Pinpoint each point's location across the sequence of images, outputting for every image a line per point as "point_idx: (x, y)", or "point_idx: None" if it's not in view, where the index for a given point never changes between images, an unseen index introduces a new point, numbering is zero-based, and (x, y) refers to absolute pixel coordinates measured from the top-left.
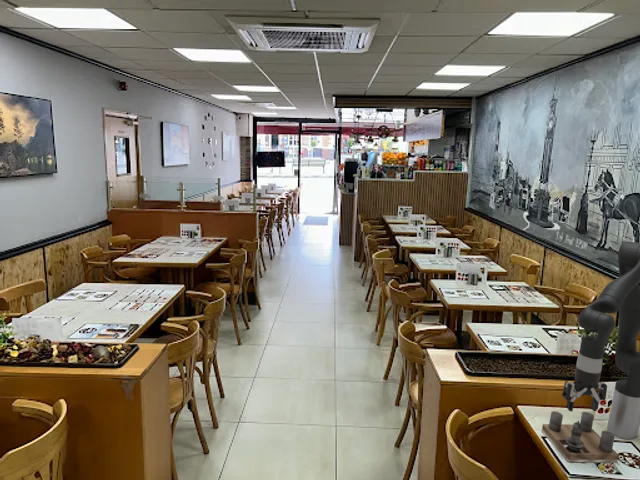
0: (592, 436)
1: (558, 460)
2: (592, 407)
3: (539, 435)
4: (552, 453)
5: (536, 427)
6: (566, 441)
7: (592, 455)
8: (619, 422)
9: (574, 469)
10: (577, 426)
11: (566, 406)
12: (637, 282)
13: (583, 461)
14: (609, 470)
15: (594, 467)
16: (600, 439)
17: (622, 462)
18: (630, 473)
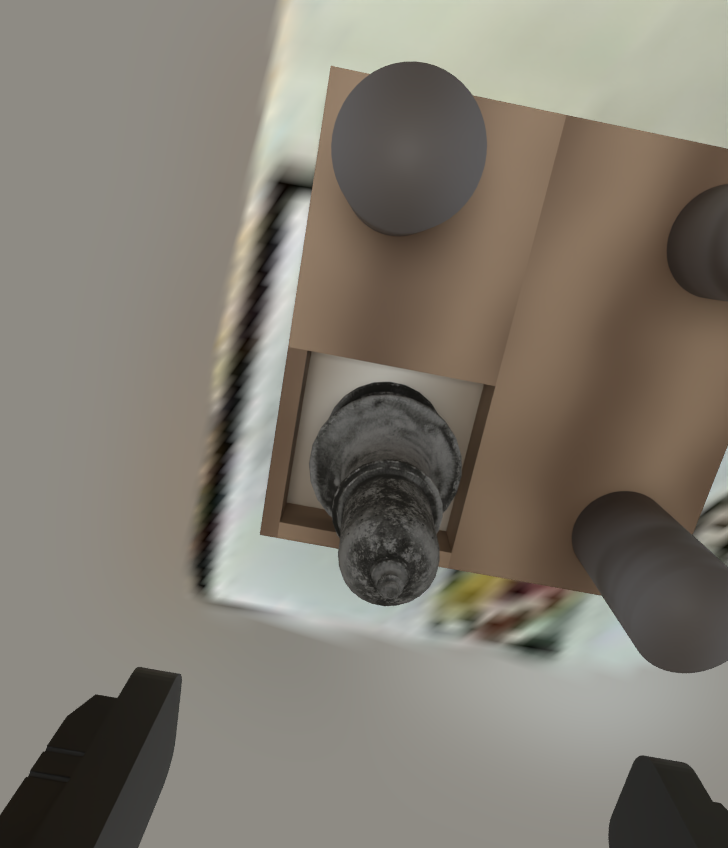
0: (680, 362)
1: (216, 478)
2: (648, 829)
3: (269, 154)
4: (223, 401)
5: (326, 15)
6: (313, 446)
7: (452, 565)
8: None
9: (266, 573)
10: (352, 590)
11: (70, 719)
12: None
13: None
14: (502, 620)
15: None
16: (615, 548)
17: None
18: (616, 665)
